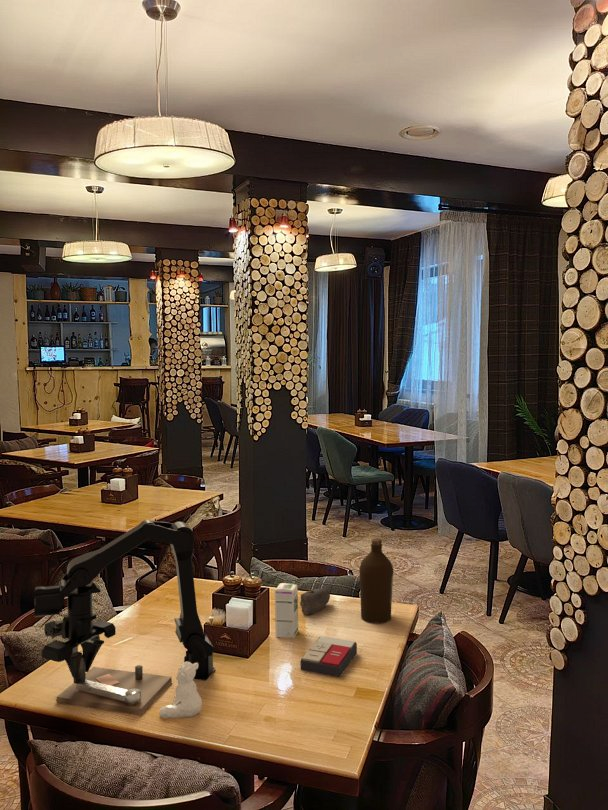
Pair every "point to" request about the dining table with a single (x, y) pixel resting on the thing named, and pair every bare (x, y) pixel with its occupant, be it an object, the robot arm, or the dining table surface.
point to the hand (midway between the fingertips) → (80, 674)
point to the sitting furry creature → (184, 695)
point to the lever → (105, 688)
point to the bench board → (121, 679)
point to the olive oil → (376, 585)
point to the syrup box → (286, 610)
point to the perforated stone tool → (314, 600)
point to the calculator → (329, 656)
